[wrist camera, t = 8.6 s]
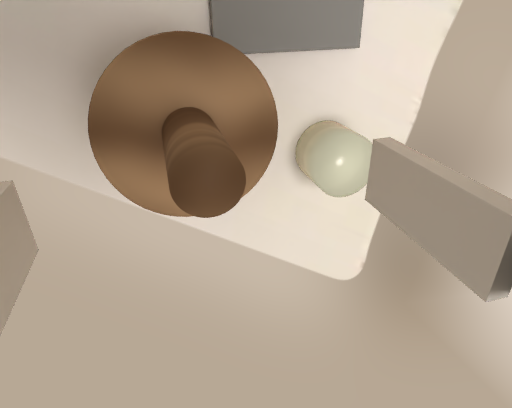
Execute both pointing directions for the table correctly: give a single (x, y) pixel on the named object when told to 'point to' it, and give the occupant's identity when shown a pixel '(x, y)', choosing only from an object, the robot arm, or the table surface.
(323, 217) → the table surface
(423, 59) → the table surface
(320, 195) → the table surface
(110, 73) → the walnut lid
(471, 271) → the robot arm
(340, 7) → the mat
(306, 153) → the cream capsule cylinder
